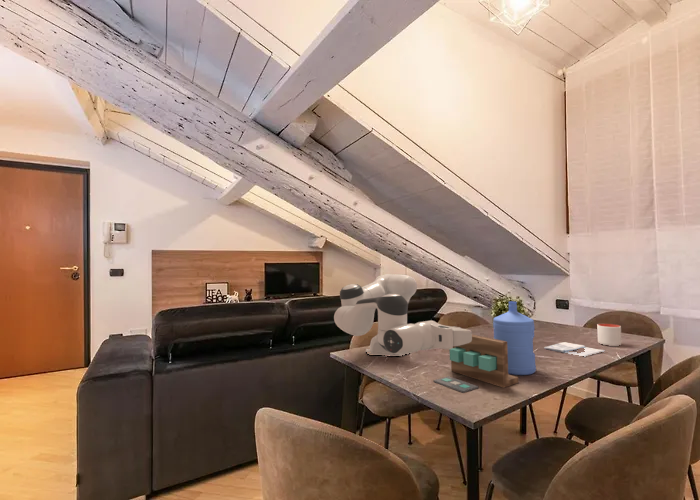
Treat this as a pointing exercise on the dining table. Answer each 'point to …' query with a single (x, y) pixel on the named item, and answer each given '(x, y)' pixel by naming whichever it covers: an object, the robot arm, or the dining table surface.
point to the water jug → (516, 340)
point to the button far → (457, 354)
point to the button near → (488, 362)
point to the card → (456, 384)
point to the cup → (609, 334)
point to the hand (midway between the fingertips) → (458, 329)
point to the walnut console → (485, 347)
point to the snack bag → (567, 347)
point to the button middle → (471, 358)
